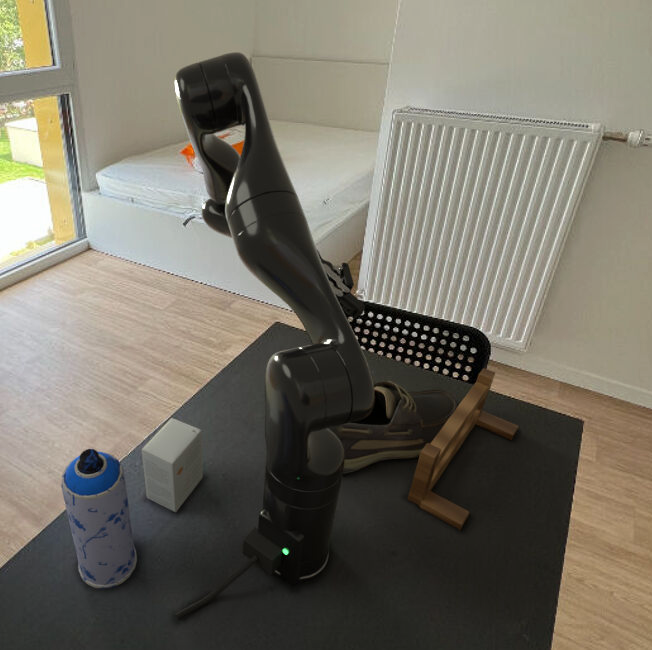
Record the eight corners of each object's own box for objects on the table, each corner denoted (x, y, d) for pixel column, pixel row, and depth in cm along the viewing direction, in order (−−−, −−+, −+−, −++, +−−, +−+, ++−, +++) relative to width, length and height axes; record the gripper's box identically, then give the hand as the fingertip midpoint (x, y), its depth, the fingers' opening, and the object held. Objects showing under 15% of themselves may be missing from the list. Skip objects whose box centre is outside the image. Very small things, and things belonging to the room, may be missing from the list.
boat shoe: (472, 436, 92) (489, 387, 86) (333, 495, 81) (342, 444, 76) (426, 400, 100) (438, 353, 95) (294, 448, 90) (299, 399, 84)
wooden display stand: (460, 530, 76) (478, 481, 71) (406, 500, 81) (419, 452, 75) (516, 431, 93) (534, 386, 88) (469, 411, 98) (484, 367, 92)
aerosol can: (94, 531, 76) (74, 426, 66) (145, 543, 75) (133, 438, 64) (67, 580, 70) (41, 473, 59) (123, 595, 68) (105, 488, 58)
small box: (174, 464, 87) (171, 416, 82) (203, 478, 85) (202, 428, 79) (145, 498, 81) (139, 448, 76) (175, 514, 79) (172, 463, 73)
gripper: (263, 250, 89) (340, 313, 81) (317, 225, 95) (393, 281, 87) (256, 282, 94) (327, 344, 86) (307, 257, 101) (378, 312, 93)
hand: (360, 312), depth 87 cm, fingers closed
